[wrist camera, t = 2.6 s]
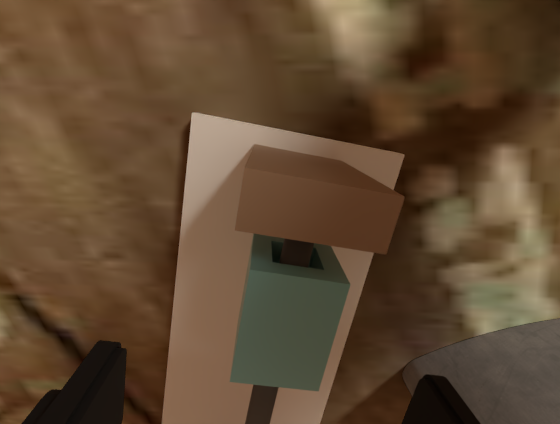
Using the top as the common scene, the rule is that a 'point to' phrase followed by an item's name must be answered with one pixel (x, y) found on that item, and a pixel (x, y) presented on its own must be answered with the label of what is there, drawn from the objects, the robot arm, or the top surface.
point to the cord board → (296, 251)
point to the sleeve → (287, 317)
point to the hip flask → (501, 373)
